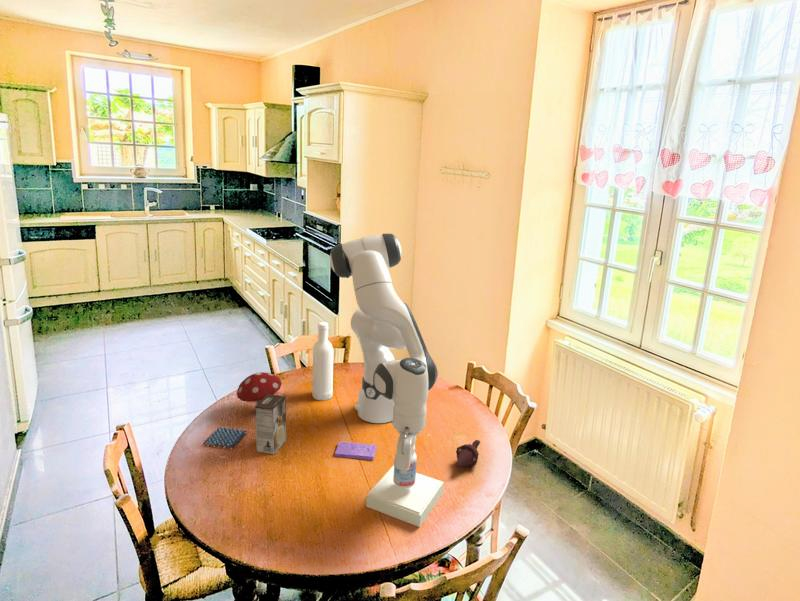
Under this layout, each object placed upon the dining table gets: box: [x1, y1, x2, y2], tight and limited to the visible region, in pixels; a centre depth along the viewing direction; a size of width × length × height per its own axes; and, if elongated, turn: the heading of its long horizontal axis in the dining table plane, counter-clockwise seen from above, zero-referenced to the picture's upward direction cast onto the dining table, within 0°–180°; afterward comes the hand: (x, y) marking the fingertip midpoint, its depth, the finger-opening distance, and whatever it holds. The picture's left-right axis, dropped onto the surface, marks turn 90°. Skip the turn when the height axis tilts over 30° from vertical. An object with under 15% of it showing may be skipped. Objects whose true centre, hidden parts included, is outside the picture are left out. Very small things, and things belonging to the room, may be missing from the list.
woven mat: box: [203, 426, 247, 451], centre depth 166 cm, size 10×11×2 cm
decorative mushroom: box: [236, 371, 283, 406], centre depth 182 cm, size 16×16×15 cm
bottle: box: [311, 321, 334, 401], centre depth 194 cm, size 8×8×30 cm
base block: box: [365, 465, 445, 528], centre depth 141 cm, size 16×16×4 cm
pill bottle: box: [393, 444, 418, 488], centre depth 139 cm, size 6×6×11 cm
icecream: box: [455, 439, 481, 468], centre depth 159 cm, size 7×7×15 cm
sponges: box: [334, 440, 378, 461], centre depth 163 cm, size 7×13×2 cm, turn 84°
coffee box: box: [254, 394, 287, 455], centre depth 162 cm, size 9×6×16 cm
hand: (406, 464), depth 139 cm, fingers closed on pill bottle, 6 cm apart
